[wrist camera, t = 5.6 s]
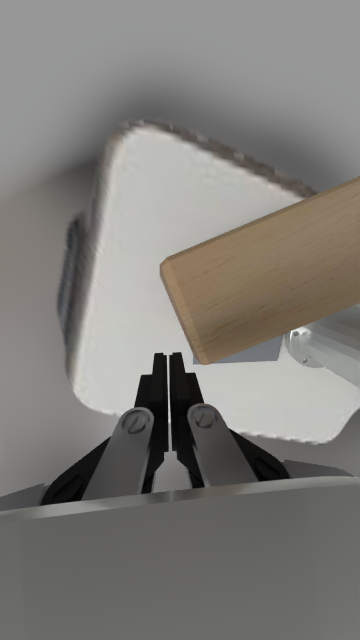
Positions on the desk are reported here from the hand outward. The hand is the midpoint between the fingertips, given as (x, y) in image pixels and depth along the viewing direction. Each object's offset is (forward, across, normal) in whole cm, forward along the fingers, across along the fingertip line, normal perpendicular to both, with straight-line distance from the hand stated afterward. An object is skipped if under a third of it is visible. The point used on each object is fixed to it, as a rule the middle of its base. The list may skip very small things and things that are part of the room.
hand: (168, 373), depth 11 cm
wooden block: (+8, -1, -2) cm, 9 cm away
